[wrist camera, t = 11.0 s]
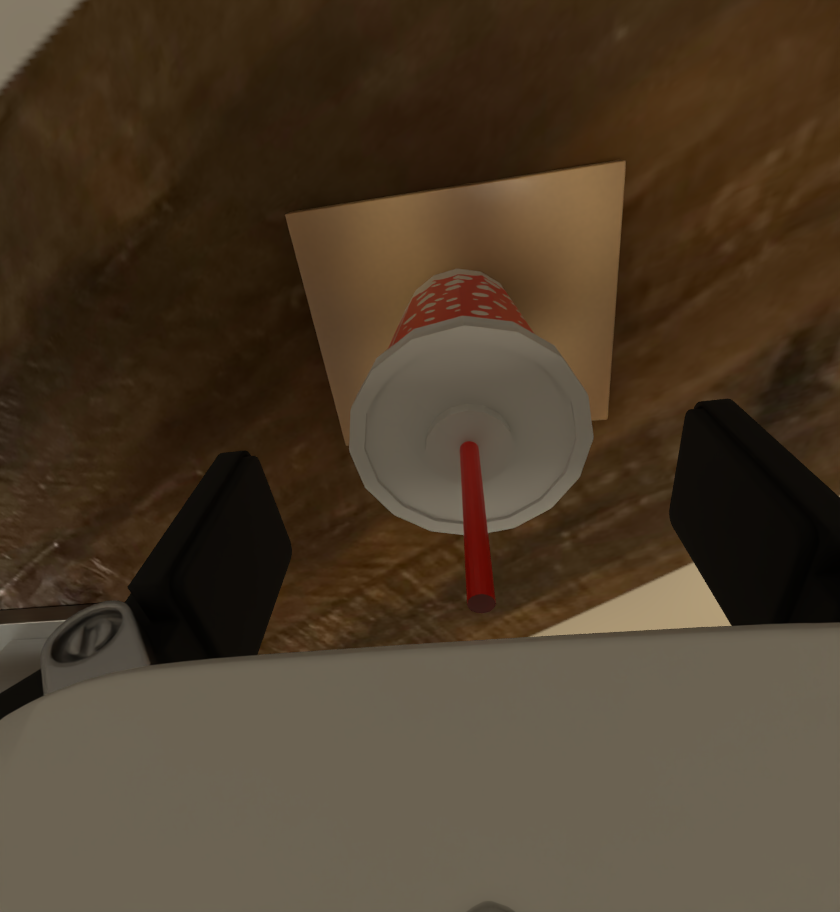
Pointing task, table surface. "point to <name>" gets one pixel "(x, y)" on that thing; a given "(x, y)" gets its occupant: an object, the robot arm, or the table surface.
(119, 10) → the table surface
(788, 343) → the table surface
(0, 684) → the faucet base
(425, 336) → the beverage cup
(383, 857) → the robot arm
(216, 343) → the table surface
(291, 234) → the drip mat
